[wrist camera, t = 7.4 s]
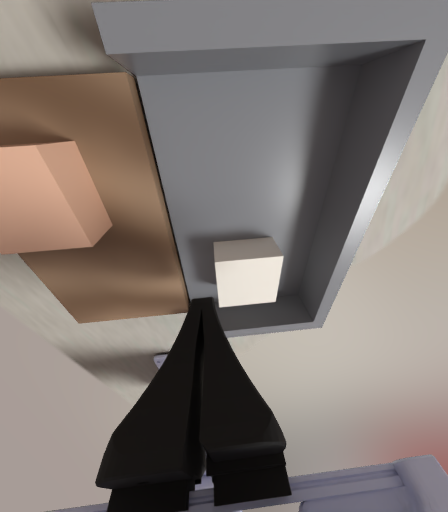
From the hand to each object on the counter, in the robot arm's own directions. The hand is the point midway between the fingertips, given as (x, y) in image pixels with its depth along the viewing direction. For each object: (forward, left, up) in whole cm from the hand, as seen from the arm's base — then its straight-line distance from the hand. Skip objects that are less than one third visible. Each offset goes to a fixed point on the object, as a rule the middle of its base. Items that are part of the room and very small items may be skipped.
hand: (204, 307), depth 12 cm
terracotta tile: (+7, +7, -3) cm, 11 cm away
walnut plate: (+4, +7, -4) cm, 9 cm away
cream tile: (0, -3, -4) cm, 5 cm away
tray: (+4, -4, -4) cm, 7 cm away
